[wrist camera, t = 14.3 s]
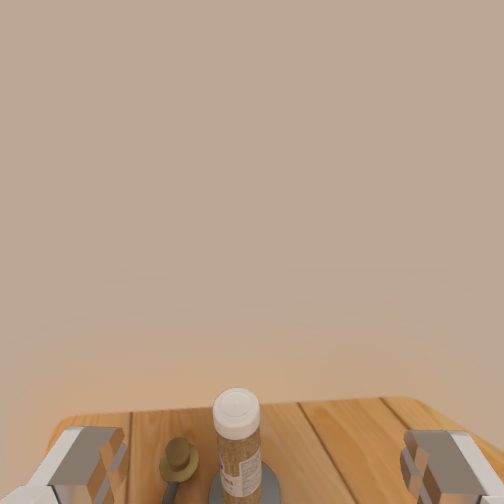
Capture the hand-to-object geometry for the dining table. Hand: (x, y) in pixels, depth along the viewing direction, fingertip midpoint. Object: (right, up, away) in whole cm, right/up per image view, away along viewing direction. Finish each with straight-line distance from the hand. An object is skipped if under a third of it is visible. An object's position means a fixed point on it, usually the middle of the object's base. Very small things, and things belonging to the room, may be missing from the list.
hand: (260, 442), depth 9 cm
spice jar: (-1, -22, +25) cm, 33 cm away
